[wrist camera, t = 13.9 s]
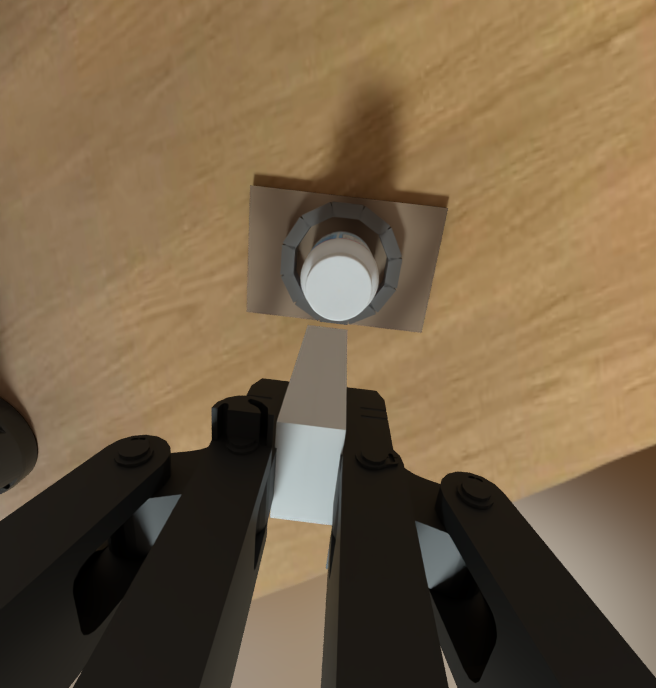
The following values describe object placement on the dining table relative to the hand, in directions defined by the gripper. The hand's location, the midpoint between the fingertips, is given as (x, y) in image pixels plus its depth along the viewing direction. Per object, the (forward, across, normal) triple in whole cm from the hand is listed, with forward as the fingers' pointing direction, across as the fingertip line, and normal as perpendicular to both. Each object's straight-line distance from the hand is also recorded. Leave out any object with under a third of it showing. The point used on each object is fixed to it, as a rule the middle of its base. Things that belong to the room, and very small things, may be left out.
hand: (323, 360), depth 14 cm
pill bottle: (+23, 0, 0) cm, 23 cm away
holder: (+24, 0, 0) cm, 24 cm away
